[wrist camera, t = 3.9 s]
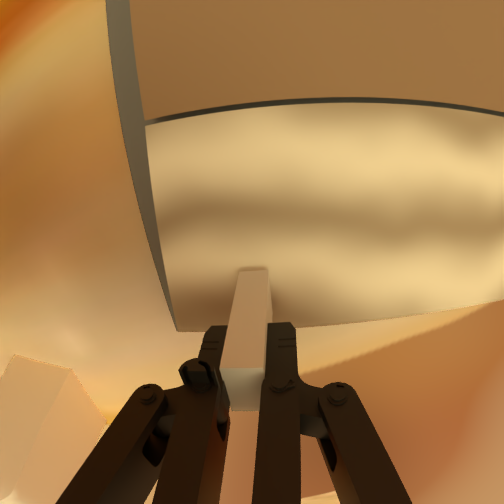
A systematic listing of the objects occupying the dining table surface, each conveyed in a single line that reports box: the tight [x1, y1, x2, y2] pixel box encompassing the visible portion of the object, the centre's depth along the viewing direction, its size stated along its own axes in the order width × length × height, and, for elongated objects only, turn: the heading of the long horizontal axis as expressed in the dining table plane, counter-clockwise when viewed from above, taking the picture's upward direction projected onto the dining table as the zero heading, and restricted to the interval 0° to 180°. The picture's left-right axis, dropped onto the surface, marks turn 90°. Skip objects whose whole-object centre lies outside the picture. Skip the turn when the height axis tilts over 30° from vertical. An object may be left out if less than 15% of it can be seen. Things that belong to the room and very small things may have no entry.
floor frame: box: [106, 0, 504, 331], centre depth 15 cm, size 30×35×3 cm
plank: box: [145, 103, 504, 332], centre depth 16 cm, size 12×30×2 cm, turn 97°
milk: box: [0, 355, 107, 504], centre depth 23 cm, size 12×12×26 cm
